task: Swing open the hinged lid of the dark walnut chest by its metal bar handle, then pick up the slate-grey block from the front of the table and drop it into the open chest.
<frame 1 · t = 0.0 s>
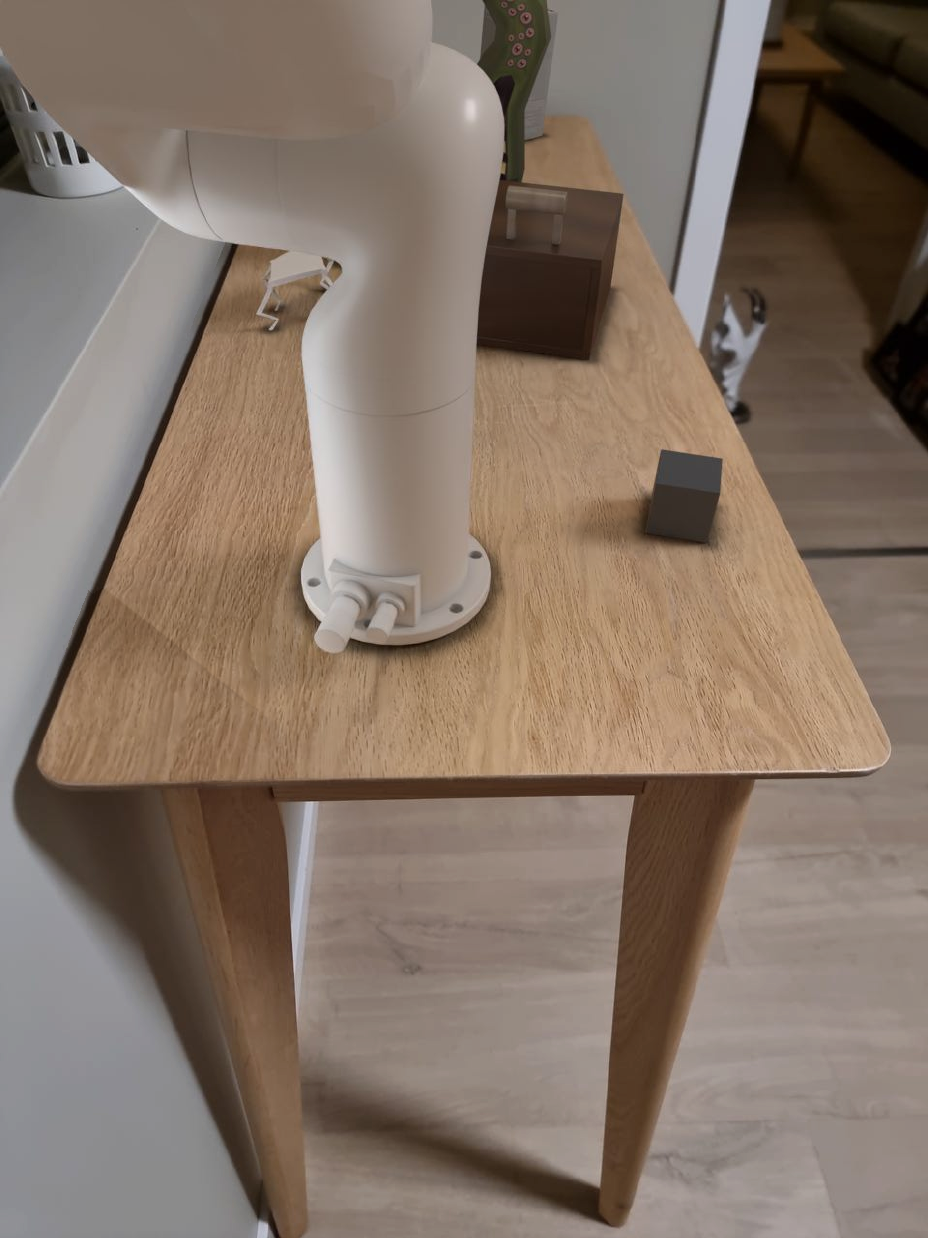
lid: (546, 196, 83), point 11 cm above the table, hinge at 0.0°
cosmetic box: (511, 134, 133), on the table
block: (678, 520, 68), on the table
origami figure: (309, 309, 91), on the table
tentacle: (485, 226, 108), on the table
chest: (537, 314, 91), on the table
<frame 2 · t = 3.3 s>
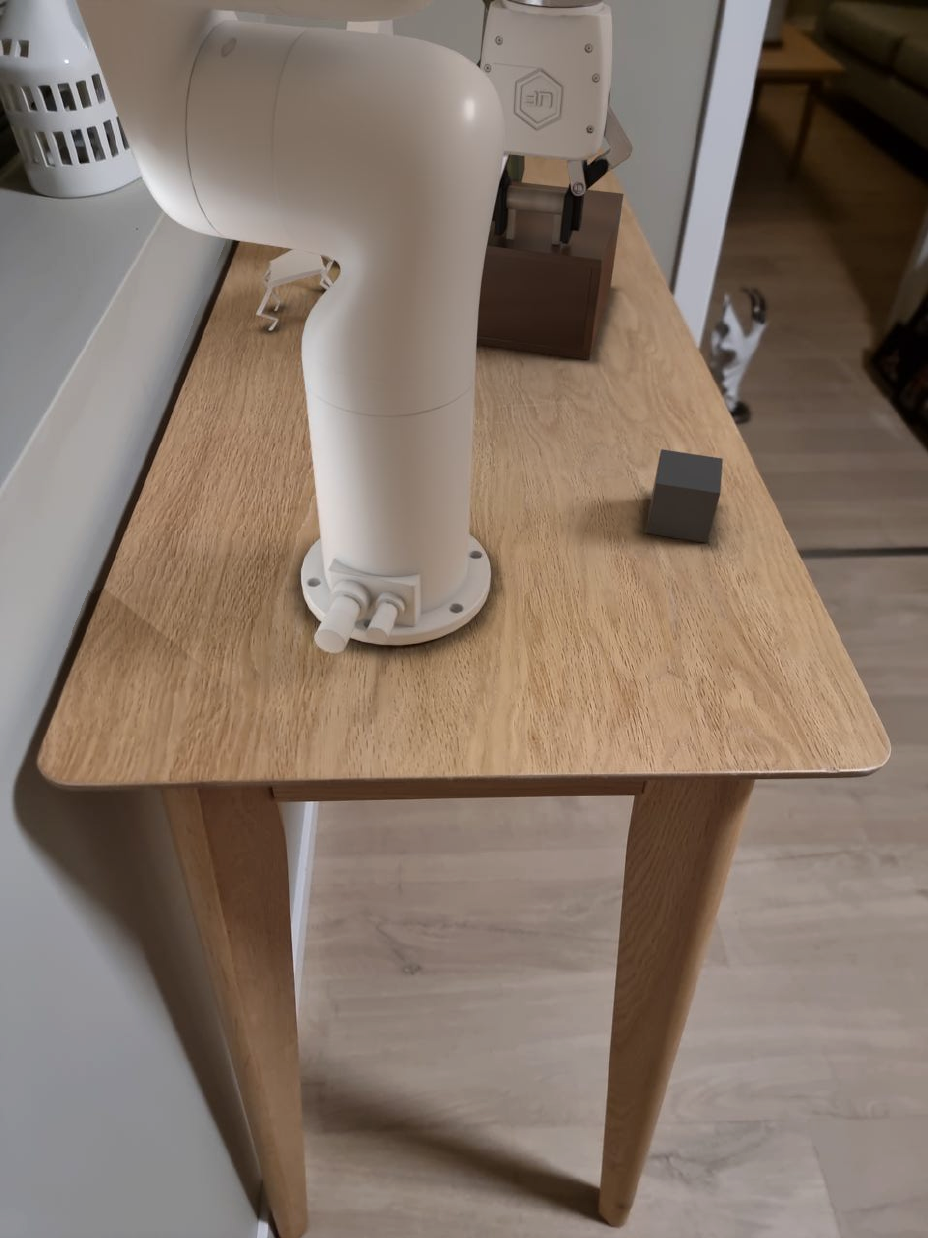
hand: (534, 231, 80), 10 cm above the table, tool pointing down, fingers closed on lid, 5 cm apart
lid: (546, 196, 83), point 11 cm above the table, hinge at 0.0°, touching gripper
everything else where it was.
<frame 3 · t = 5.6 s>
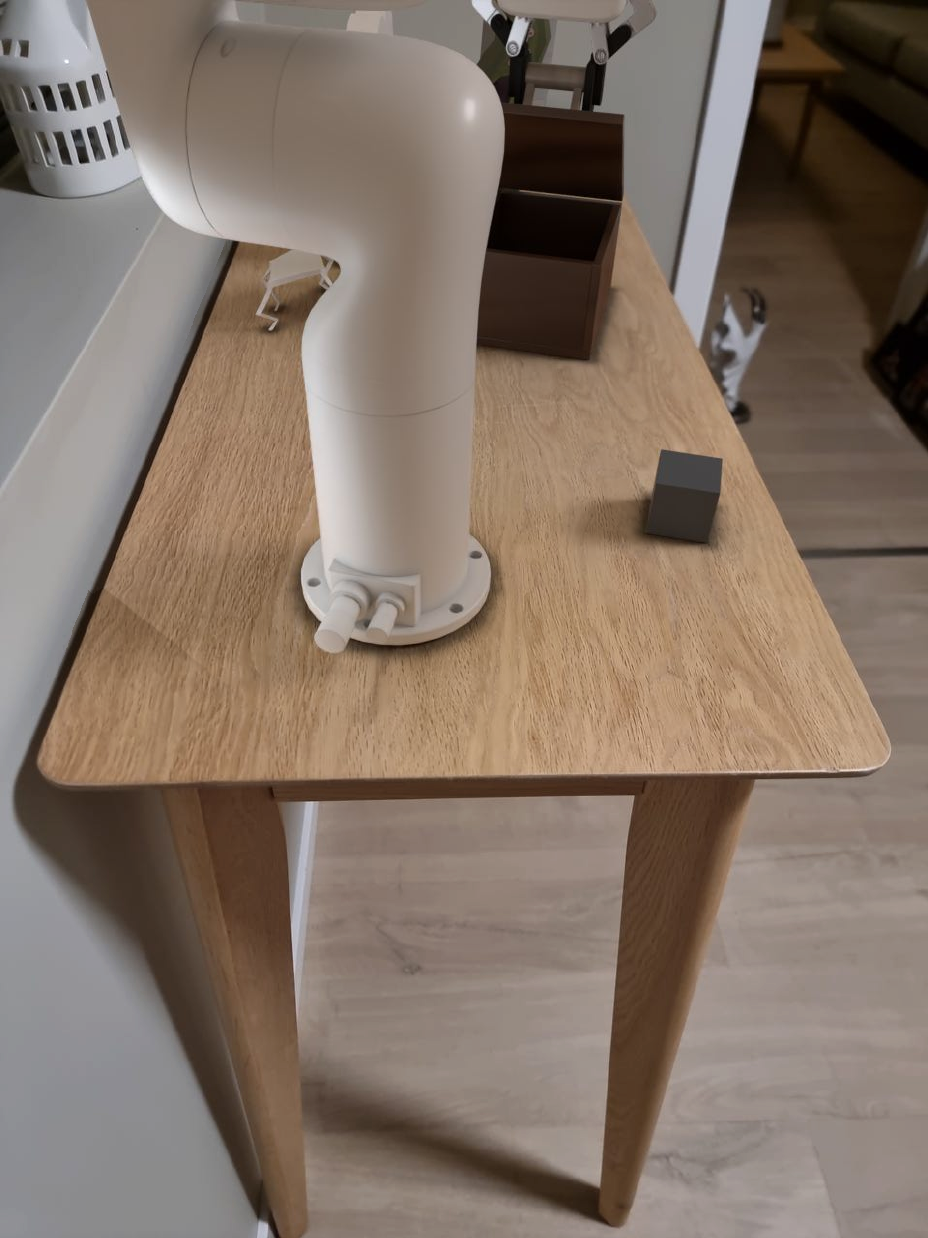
hand: (554, 108, 78), 19 cm above the table, tool pointing down, fingers closed on lid, 5 cm apart
lid: (557, 129, 82), point 16 cm above the table, hinge at 38.8°, touching gripper
everything else where it was.
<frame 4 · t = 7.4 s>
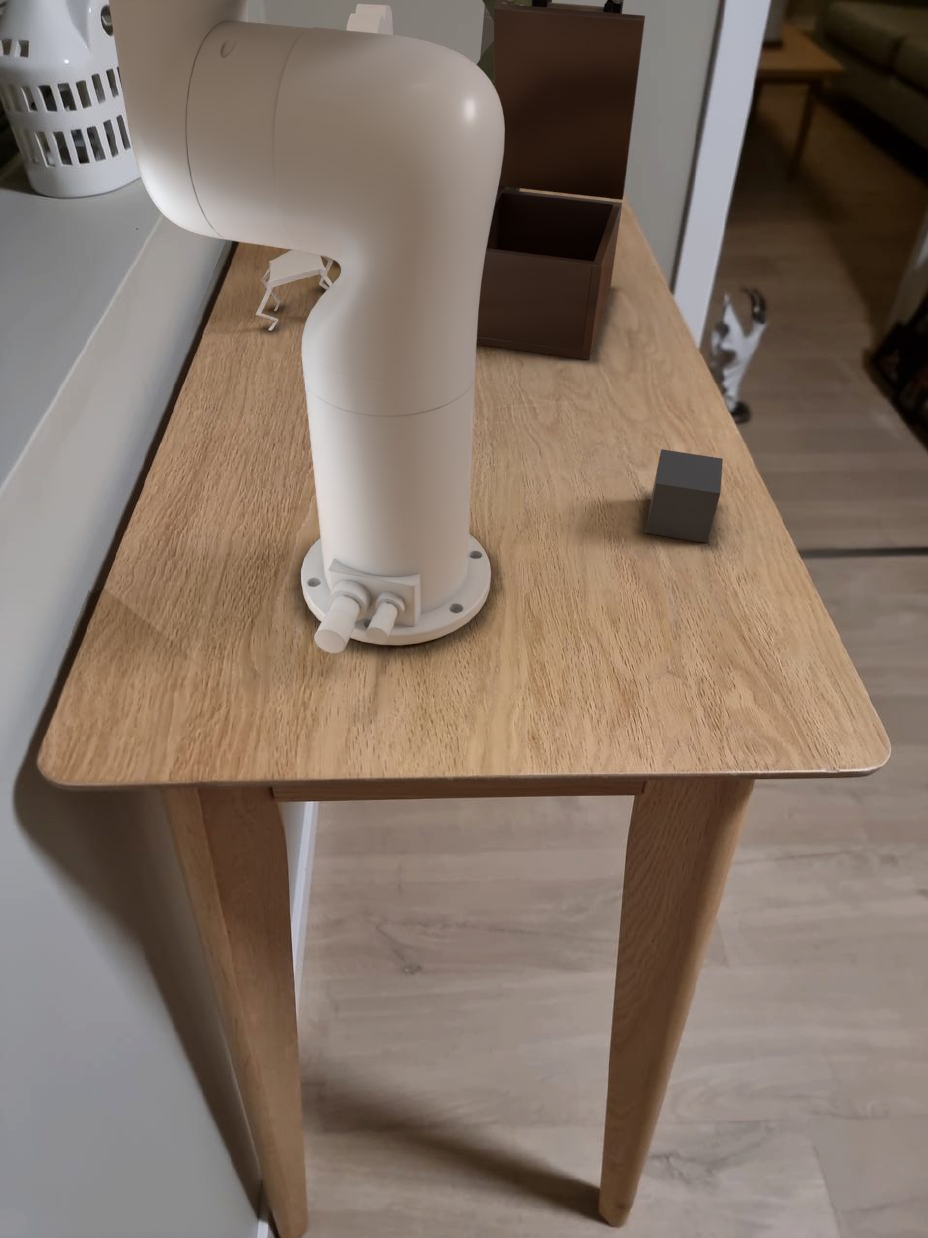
hand: (573, 48, 82), 21 cm above the table, tool pointing down, fingers closed on lid, 5 cm apart
lid: (567, 94, 84), point 18 cm above the table, hinge at 73.6°, touching gripper
everything else where it was.
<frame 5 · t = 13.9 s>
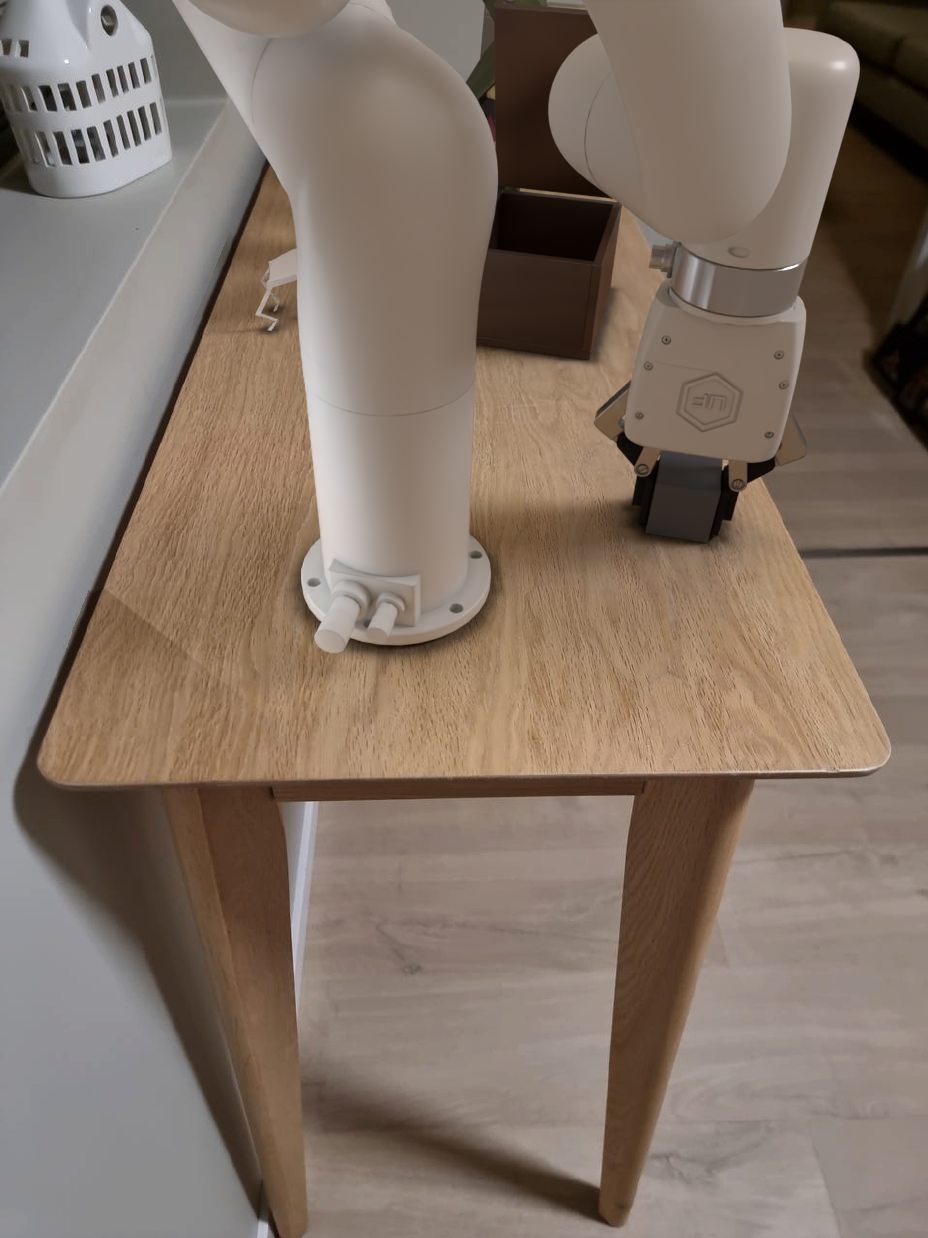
hand: (679, 516, 68), 0 cm above the table, tool pointing down, fingers closed on block, 4 cm apart
lid: (567, 94, 84), point 18 cm above the table, hinge at 74.2°
block: (678, 520, 68), on the table, touching gripper
everything else where it was.
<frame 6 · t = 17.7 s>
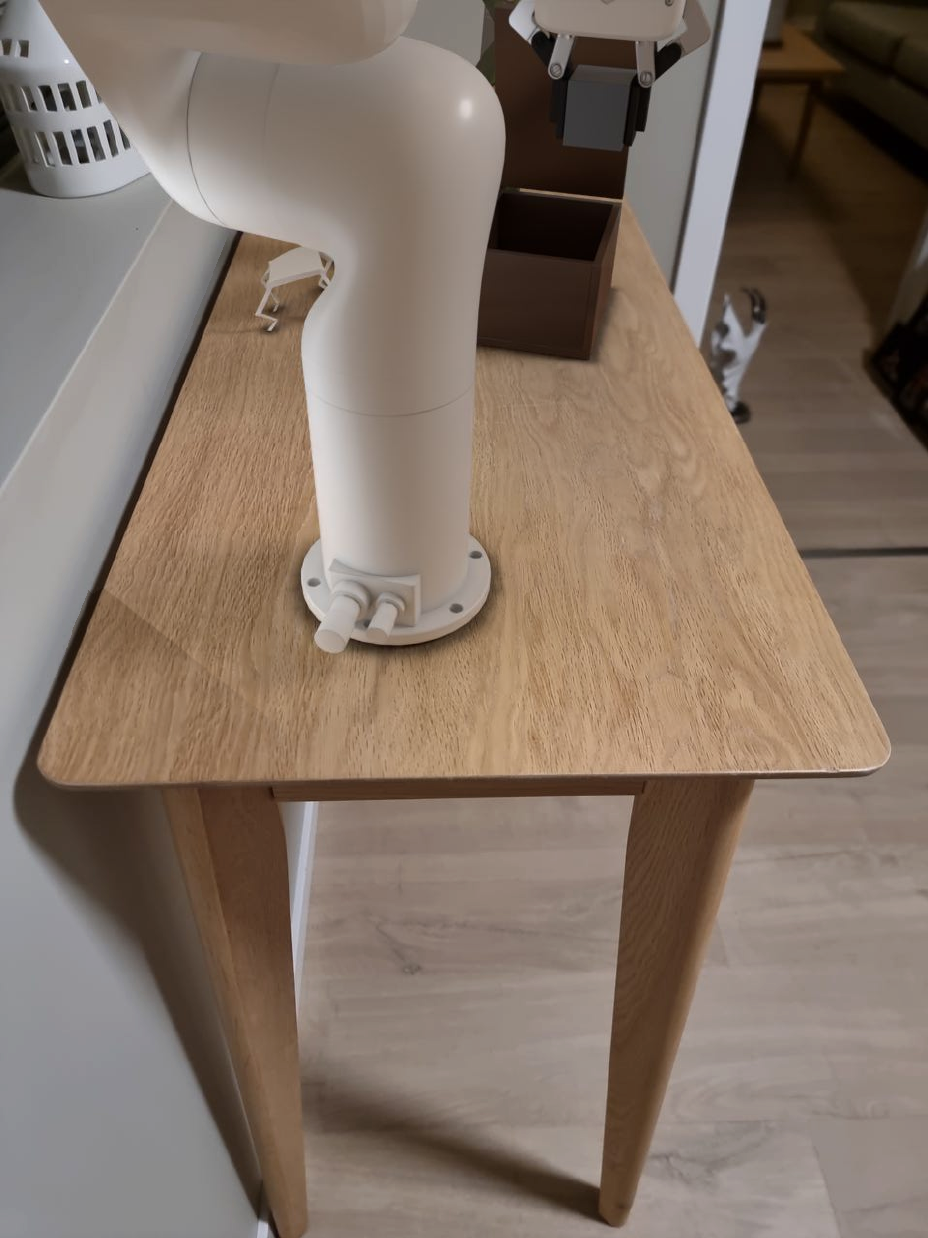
hand: (596, 134, 70), 20 cm above the table, tool pointing down, fingers closed on block, 4 cm apart
block: (596, 139, 70), point 19 cm above the table, touching gripper
everything else where it was.
when the fingers open (9 cm above the table, at t = 21.4 s): block drops 8 cm, resting on chest.
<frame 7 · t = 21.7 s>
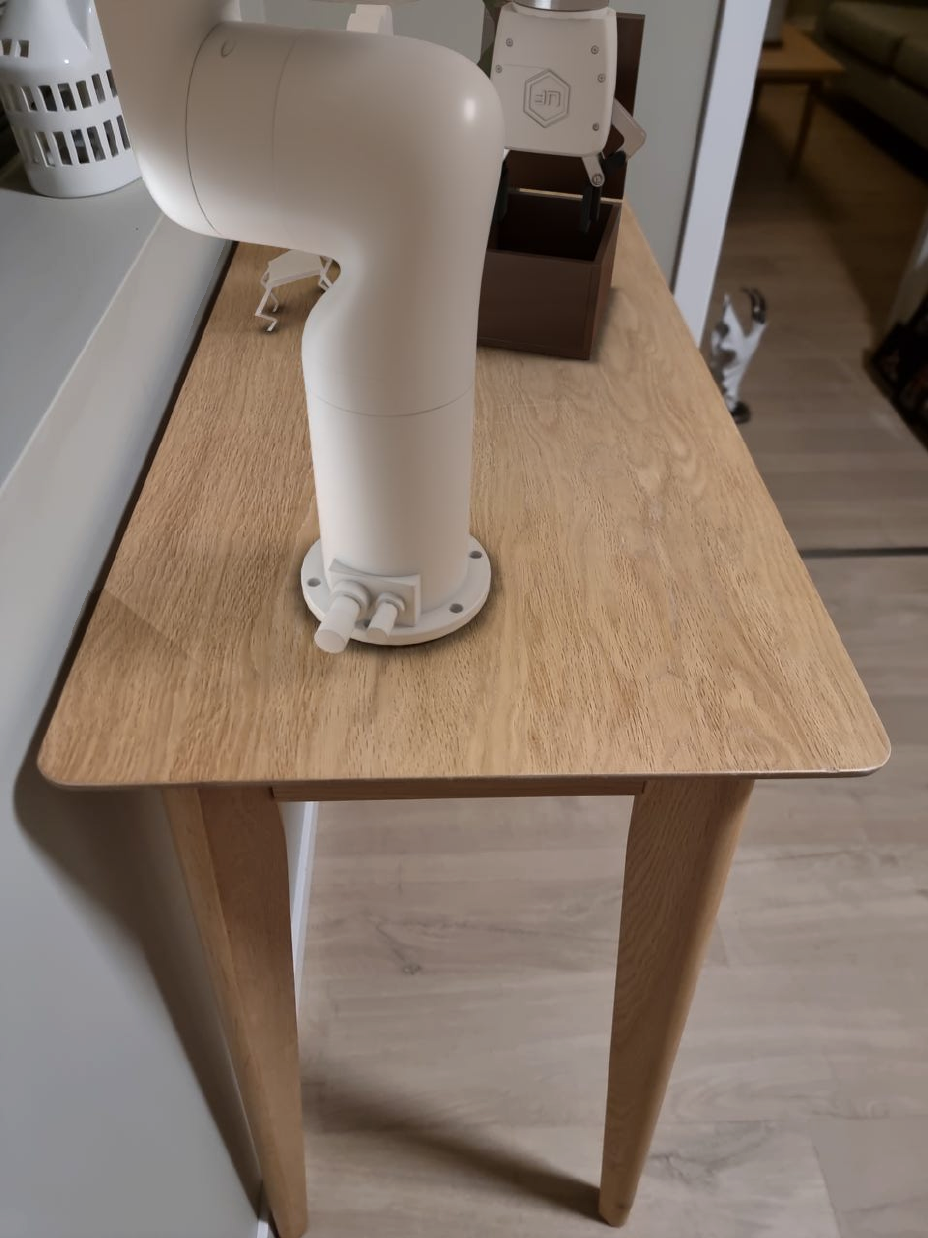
hand: (542, 220, 83), 10 cm above the table, tool pointing down, fingers open, 7 cm apart
block: (534, 315, 89), point 1 cm above the table, touching chest
everything else where it was.
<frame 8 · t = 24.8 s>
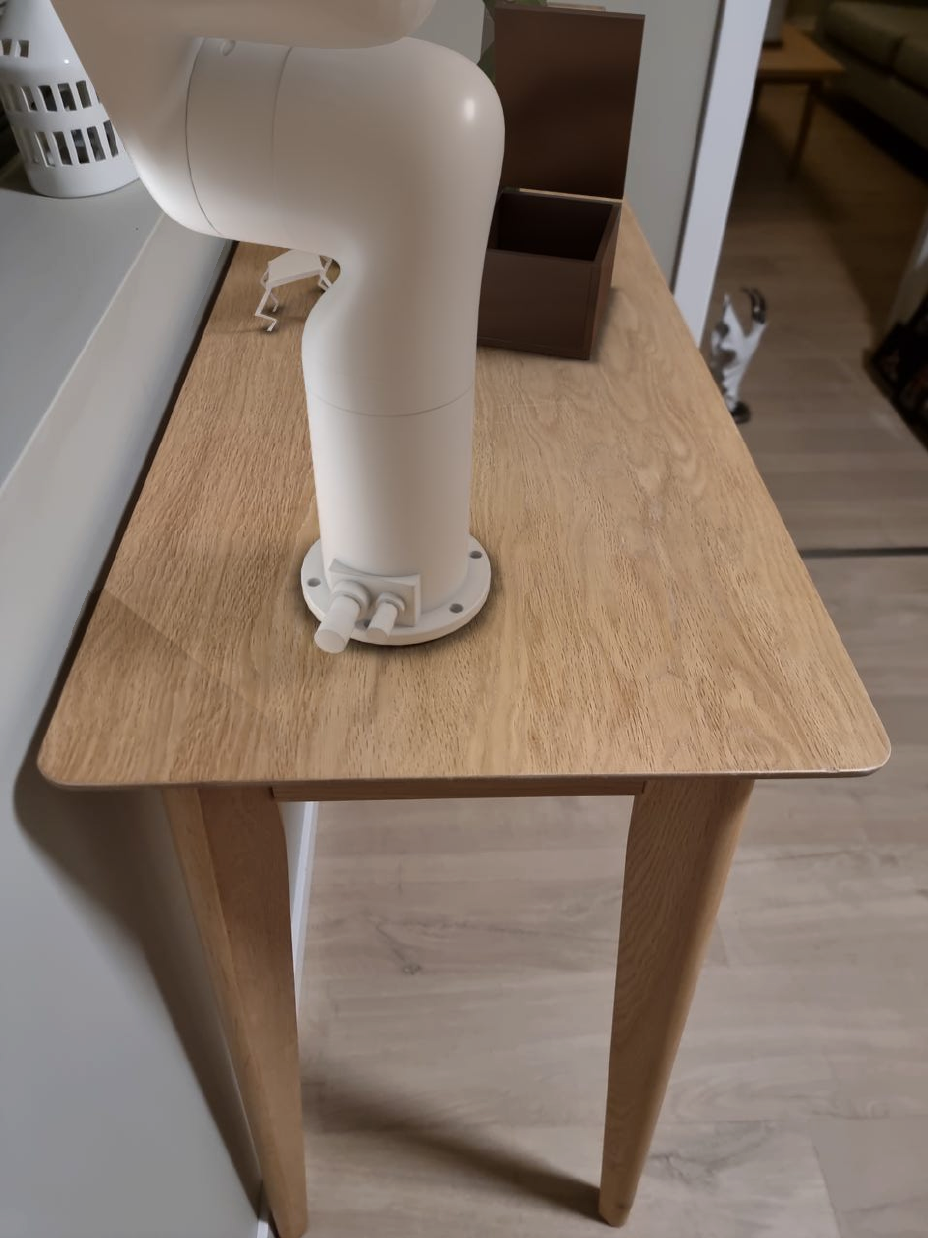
nothing on the table moved.
at the end: lid at +74° (first picture: +0°); block inside the target area in the chest (2.0 cm from its centre), point 0.8 cm above the chest's base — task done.
